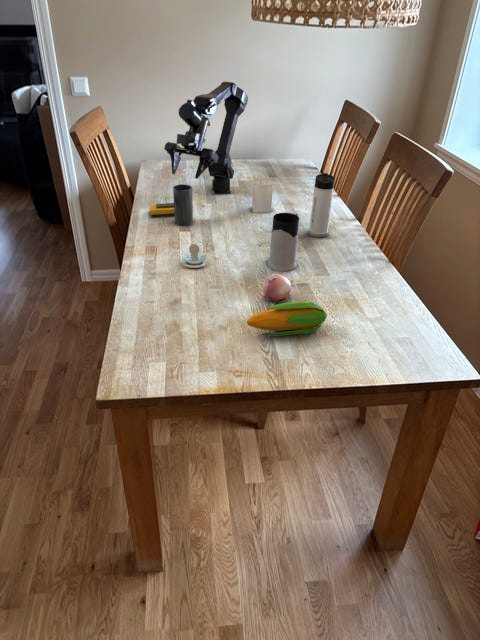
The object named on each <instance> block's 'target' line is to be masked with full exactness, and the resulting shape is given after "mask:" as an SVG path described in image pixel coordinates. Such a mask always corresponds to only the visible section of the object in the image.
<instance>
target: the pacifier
mask: <svg viewBox="0 0 480 640" xmlns="http://www.w3.org/2000/svg"><path fill="white" fill-rule="evenodd" d="M188 251H189V253H190V255H187V254H182V255H181V257H182V260H183V261H184V263H183V266H184V267H185V268H189V269H199V268H204V267H205V266H206V263H205V261H206V259H207V254H202V255H199V252H200V246H199V245H198V244H197V243H192V244H190V245H189V247H188Z"/></svg>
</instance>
